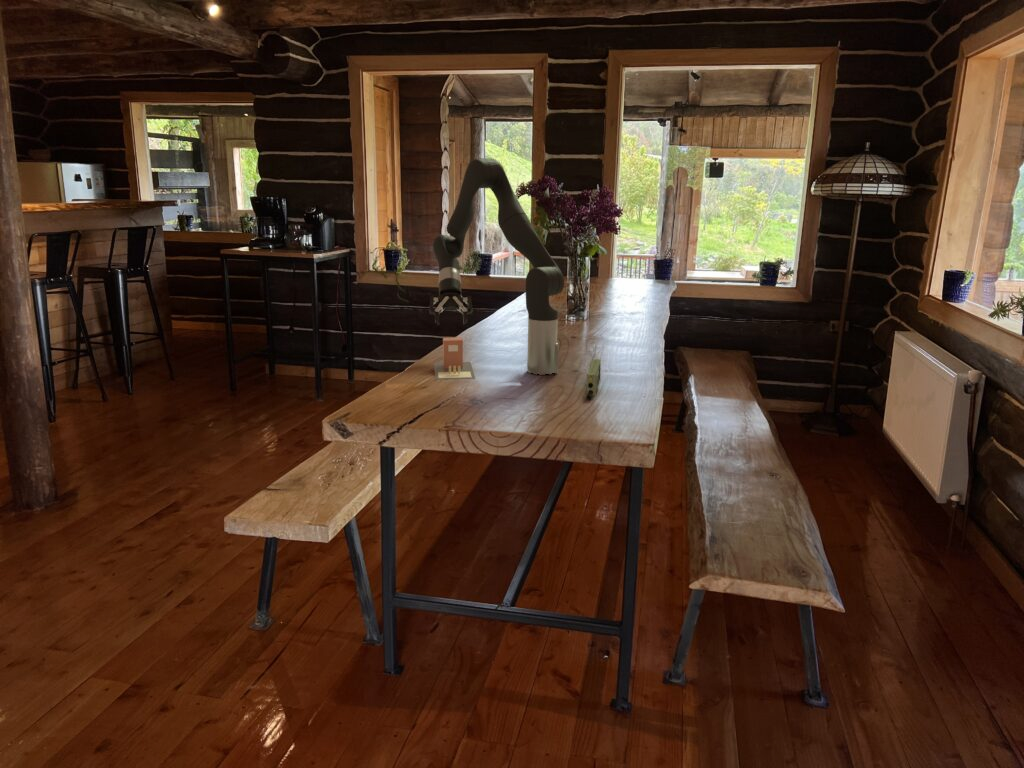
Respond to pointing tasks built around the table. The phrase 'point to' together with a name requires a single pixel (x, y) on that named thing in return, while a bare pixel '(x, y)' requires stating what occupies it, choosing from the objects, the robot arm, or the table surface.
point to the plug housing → (452, 352)
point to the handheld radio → (593, 378)
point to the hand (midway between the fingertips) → (451, 323)
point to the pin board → (453, 371)
